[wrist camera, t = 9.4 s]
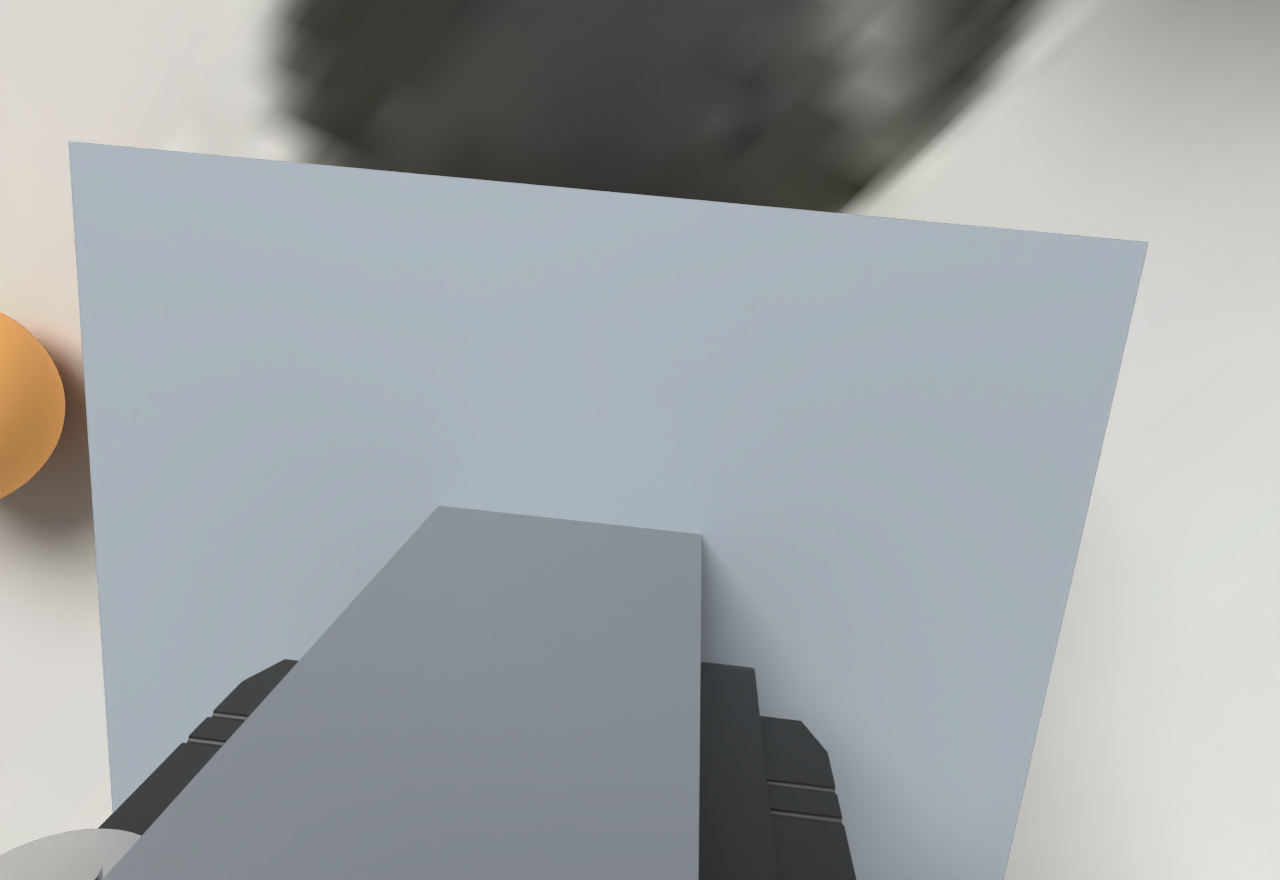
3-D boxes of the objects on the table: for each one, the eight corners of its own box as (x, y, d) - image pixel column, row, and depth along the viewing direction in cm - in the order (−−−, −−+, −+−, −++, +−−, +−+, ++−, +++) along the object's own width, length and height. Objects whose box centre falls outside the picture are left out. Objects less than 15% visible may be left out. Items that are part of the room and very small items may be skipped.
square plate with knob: (933, 226, 18) (1939, 300, 3) (848, 734, 20) (1185, 1973, 6) (368, 173, 18) (-916, 37, 4) (361, 676, 21) (-388, 1695, 7)
